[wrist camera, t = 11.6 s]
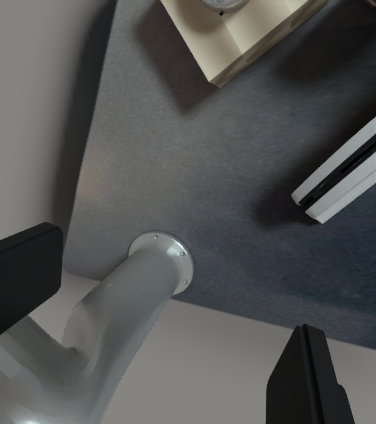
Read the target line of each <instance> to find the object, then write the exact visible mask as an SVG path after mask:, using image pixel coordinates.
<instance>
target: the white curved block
mask: <svg viewBox="0 0 376 424" xmlns="http://www.w3.org/2000/svg"><path fill="white" fill-rule="evenodd" d="M366 149H372V150H371V151H369V152H368V153H367V154H366V155H365V156H363V157H362V158H361V159H360V160H359V161H357V162H356V163H355V164H354V165H353V166H352V167H350V168H349V169H348V170H347V171H346V172H344V173H343V174H342V172H341V171H342V169H344V168H345V167H346V166H347V165H348V164H349V163H351V162H352V161H353V160H354V159H355V158H357V157H358V156H359V155H360V154H361V153H362V152H364V151H365V150H366ZM375 183H376V117H375V118H374V119H373V120H371V121H370V122H369V123H368V124H367V125H366V126H364V127H363V128H362V129H361V130H360V131H359V132H358V133H357V134H355V135H354V136H353V137H352V138H351V139H350V140H349V141H348V142H346V143H345V144H344V145H343V146H342V147H341V148H340V149H339V150H338V151H336V152H335V153H334V154H333V155H332V156H331V157H330V158H329V159H328V160H327V161H326V162H325V163H323V164H322V165H321V166H320V167H319V168H318V169H317V170H316V171H315V172H314V173H313V174H312V175H311V176H310V177H309V178H308V179H307V180H305V181H304V182H303V183H302V184H301V185H300V186H299V187H298V188H297V189H296V190H295V191H294V192H293V193H292V195H291V196H292V198H293V199H294V201H295V203H296V204H297V205H300V206H301V205H302V206H303V207H304V209H305V210H306V211H305V213H306V214H308V215H309V216H311V217H312V218H313V219H316V220H318V221H319V222H321V223H322V224H323V223H324V222H325V221H327V220H328V219H329V218H331V217H332V216H333V215H334V214H336V213H337V212H338V211H340V210H341V209H342V208H344V207H345V206H346V205H347V204H349V203H350V202H351V201H353V200H354V199H355V198H357V197H358V196H359V195H360V194H362V193H363V192H364V191H366V190H367V189H368V188H369V187H371V186H372V185H373V184H375ZM308 203H309V204H308ZM307 204H308V205H307ZM306 205H307V206H306Z"/></svg>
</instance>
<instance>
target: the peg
mask: <svg viewBox="0 0 376 424" xmlns="http://www.w3.org/2000/svg"><path fill="white" fill-rule="evenodd" d="M200 1H201V2H202V3H203V5H204V6H205V7H206V8H208V9H209V10H211V11H213V12H215V13H220V14H227V13H231V12H234V11H237V10H239V9H240V8H242V7H243V6H244V5H246V4H247V3H248V2H249V1H250V0H200Z"/></svg>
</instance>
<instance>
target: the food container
mask: <svg viewBox="0 0 376 424" xmlns="http://www.w3.org/2000/svg"><path fill="white" fill-rule="evenodd" d="M363 1H364V2H365V3H367V4H368V5H369V6H370V7H371V8H374V9H376V0H363Z"/></svg>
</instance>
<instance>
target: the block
mask: <svg viewBox="0 0 376 424" xmlns="http://www.w3.org/2000/svg"><path fill="white" fill-rule="evenodd" d="M161 2H162V3H163V5H164V7H165V8H166V10H167V12H168V13H169V15H170V17H171V19H172V20H173V22H174V24H175V25H176V27H177V29H178V30H179V32H180V34H181V35H182V37H183V39H184V40H185V42H186V44H187V46H188V47H189V49H190V51H191V52H192V54H193V56H194V57H195V59H196V61H197V62H198V64H199V66H200V68H201V69H202V71H203V73H204V74H205V76H206V78H207V79H208V81H209V82H210V83H212V84H214V85H216V86H217V87H219V88H221V87H222V86H223V85H224V84H226V83H227V82H228V81H230V80H231V79H232V78H233V77H235V76H236V75H237V74H238V73H240V72H241V71H242V70H243V69H245V68H246V67H247V66H249V65H250V64H251V63H252V62H254V61H255V60H256V59H257V58H259V57H260V56H261V55H263V54H264V53H265V52H266V51H268V50H269V49H270V48H271V47H273V46H274V45H275V44H276V43H278V42H279V41H280V40H282V39H283V38H284V37H285V36H287V35H288V34H289V33H290V32H292V31H293V30H294V29H295V28H297V27H298V26H299V25H301V24H302V23H303V22H304V21H306V20H307V19H308V18H309V17H311V16H312V15H313V14H314V13H316V12H317V11H318V10H320V9H321V8H322V7H323V6H325V5H326V4H327V3H328V0H250V1H249V2H248V3H247V4H246V5H244V6H243V7H242V8H240V9H239V10H237V11H234V12H231V13H227V14H223V15H222V16H220V14H219V13H215V12H213V11H211V10H209V9H208V8H206V7H205V6H204V5H203V3H202V2H201V1H200V0H161Z"/></svg>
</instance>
